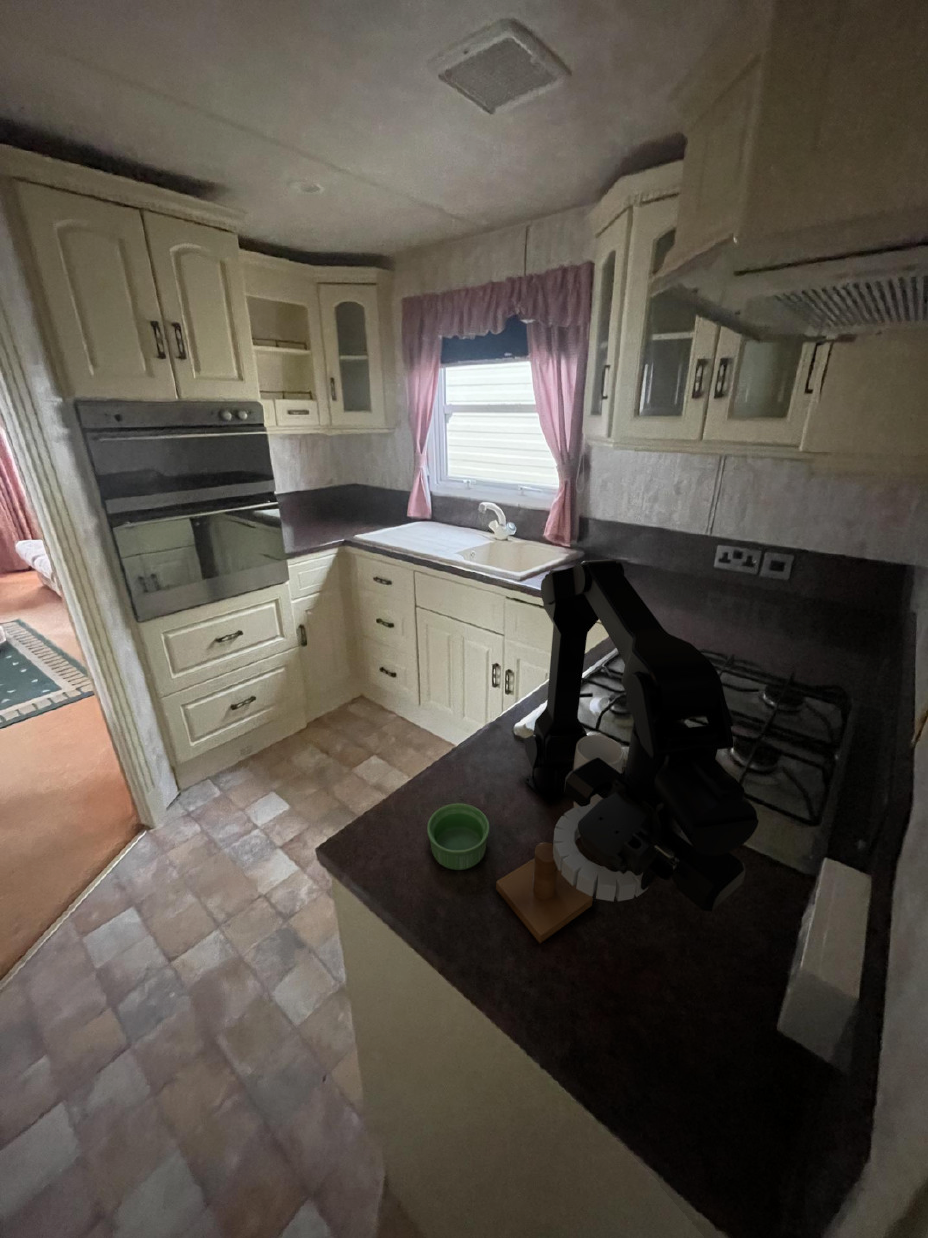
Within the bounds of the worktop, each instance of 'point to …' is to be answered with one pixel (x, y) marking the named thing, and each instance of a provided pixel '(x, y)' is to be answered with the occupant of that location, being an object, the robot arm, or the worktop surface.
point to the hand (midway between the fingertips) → (634, 878)
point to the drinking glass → (598, 755)
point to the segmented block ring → (589, 863)
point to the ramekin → (458, 835)
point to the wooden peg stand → (542, 894)
